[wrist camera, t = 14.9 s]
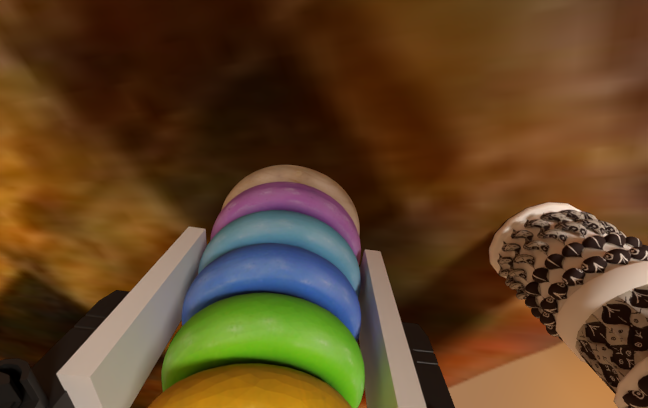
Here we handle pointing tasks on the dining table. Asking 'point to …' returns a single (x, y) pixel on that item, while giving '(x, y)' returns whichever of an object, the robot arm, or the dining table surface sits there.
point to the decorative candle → (582, 289)
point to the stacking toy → (273, 301)
